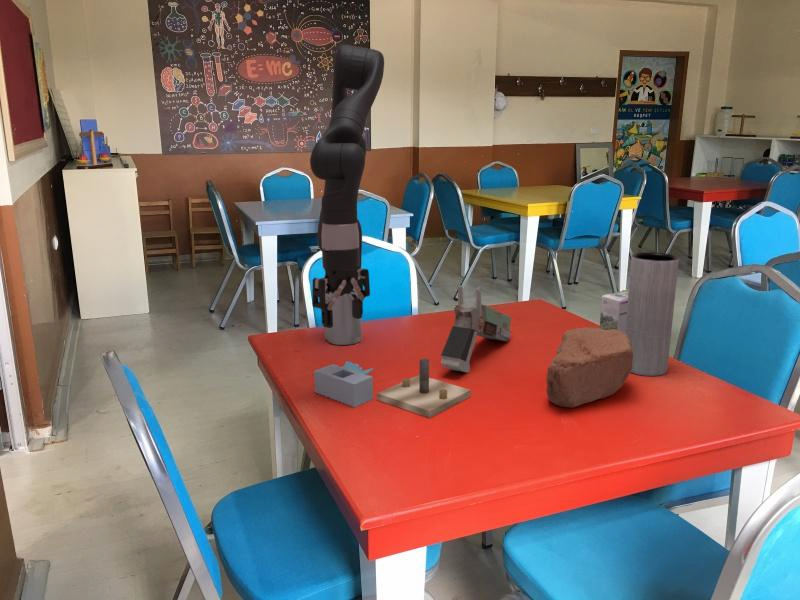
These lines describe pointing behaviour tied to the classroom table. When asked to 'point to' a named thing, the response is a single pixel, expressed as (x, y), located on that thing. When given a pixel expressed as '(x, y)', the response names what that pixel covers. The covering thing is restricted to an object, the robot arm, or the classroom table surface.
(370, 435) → the classroom table surface
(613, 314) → the syrup box
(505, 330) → the ray gun
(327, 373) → the grey rectangular block
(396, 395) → the post base
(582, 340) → the stone
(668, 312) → the vase
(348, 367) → the decorative object
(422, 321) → the classroom table surface
